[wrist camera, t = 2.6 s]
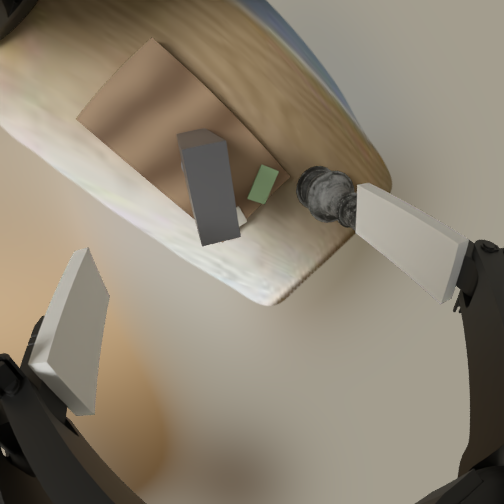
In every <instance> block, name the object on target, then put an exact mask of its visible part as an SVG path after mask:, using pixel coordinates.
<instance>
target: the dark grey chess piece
mask: <svg viewBox="0 0 504 504" xmlns="http://www.w3.org/2000/svg"><path fill="white" fill-rule="evenodd" d="M296 192H297V197H298V199H299V201H300V202H301V203H302V204H303V205H304V206H305V207H307V208H309V211H310V213H311V214H312V216H313V217H314V218H315V219H317V220H319V221H321V222H326V223H328V222H334V221H336V220H338V222H339V223H340V224H341V225H342V226H344V227H351V228H352V229H354V230H355V231H356V212H357V193H354V186H353V183H352V181H351V179H350V178H349V177H348V176H347V175H346V174H344V173H343V172H339V171H331V170H329V169H328V168H326V167H323V166H315V167H311V168H309V169H308V170H306V171H305V172H304V173H303V174H302V175H301V177H300V179H299V180H298V184H297V191H296Z"/></svg>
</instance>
